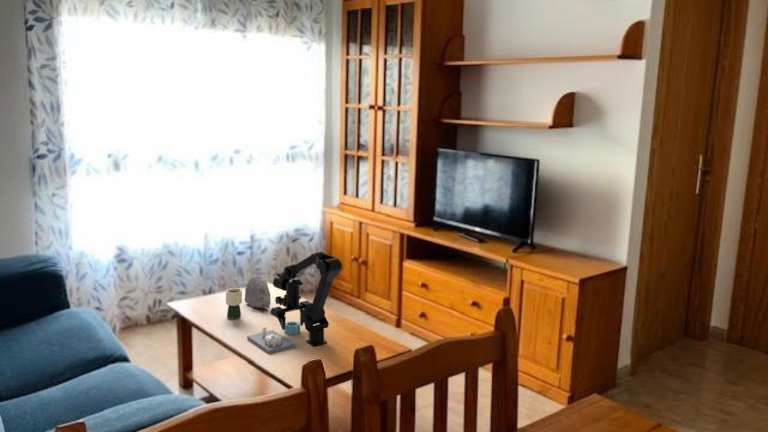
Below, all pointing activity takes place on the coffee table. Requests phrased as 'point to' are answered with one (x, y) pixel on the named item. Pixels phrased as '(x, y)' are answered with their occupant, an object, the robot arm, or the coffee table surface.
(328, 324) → the robot arm
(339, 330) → the coffee table surface
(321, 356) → the coffee table surface
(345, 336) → the coffee table surface
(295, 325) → the teal gear
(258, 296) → the decorative rock
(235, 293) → the character mug
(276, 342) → the gear board
